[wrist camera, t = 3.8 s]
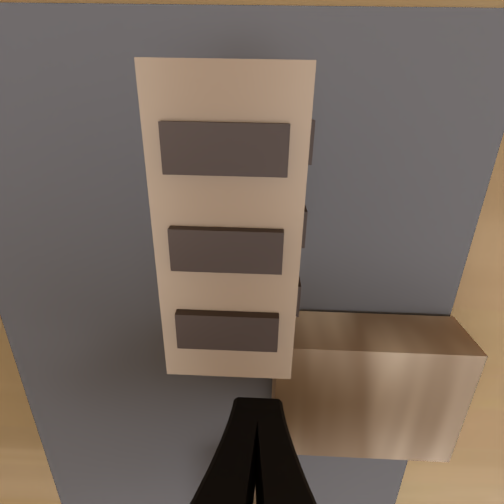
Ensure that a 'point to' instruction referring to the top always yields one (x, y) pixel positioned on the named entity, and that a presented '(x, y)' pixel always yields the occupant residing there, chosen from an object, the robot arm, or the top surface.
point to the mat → (140, 229)
